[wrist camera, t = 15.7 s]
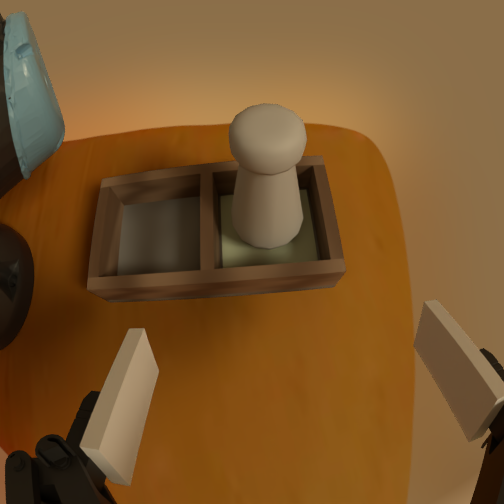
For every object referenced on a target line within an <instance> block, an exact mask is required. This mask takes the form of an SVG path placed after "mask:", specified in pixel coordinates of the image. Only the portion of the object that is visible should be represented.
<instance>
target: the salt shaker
mask: <svg viewBox="0 0 504 504" xmlns="http://www.w3.org/2000/svg"><path fill="white" fill-rule="evenodd" d="M306 141H307V139H306V131H305V127H304V123H303V120H302V119H301V118H300V117H299V116H298V115H297V114H295V113H294V112H293V111H292V110H289V109H287V108H285V107H282V106H280V105H278V104H260V105H255V106H251V107H248V108H247V109H245V110H243V111H242V112H240V113H239V114H237V115H236V116H235V118H234V120H233V121H232V123H231V125H230V127H229V143H230V149H231V153H232V155H233V156H234V158H235V159H236V160H237V162H238V163H239V166H238V172H237V178H236V184H235V190H234V196H233V202H232V208H231V215H232V225H233V227H234V228H235V230H236V232H237V233H238V235H239V236H240V238H241V239H242V240H243V241H245V242H246V243H248V244H250V245H251V246H253V247H255V248H262V249H269V250H271V249H274V248H277V247H280V246H284V245H286V244H288V243H289V242H290V241H291V240H292V239H293V238H294V237H295V236H296V235H297V234H298V232H299V230H300V227H301V224H302V221H303V213H302V207H301V200H300V193H299V186H298V179H297V173H296V166H295V165H296V164H297V163H298V162H299V161H300V160H301V157H302V155H303V152H304V149H305V145H306Z"/></svg>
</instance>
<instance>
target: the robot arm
mask: <svg viewBox="0 0 504 504" xmlns="http://www.w3.org/2000/svg"><path fill="white" fill-rule="evenodd" d="M64 133H65V125H64V121H63V117H62V114H61V111H60V108H59V105H58V102H57V99H56V96H55V93H54V90H53V87H52V84H51V81H50V79H49V76H48V73H47V70H46V67H45V64H44V61H43V58H42V56H41V53H40V50H39V47H38V44H37V41H36V38H35V35H34V33H33V30H32V28H31V26H30V23H29V20H28V17H27V15H26V14H25V13H24V12H18V13H15V14H13V13H12V14H10V15H9V16H7V18H6V20H4V19H3V18H2V16H1V14H0V199H1V198H2V197H3V196H4V195H5V194H6V193H7V192H8V191H10V190H11V189H12V188H13V187H14V186H15V185H16V184H18V183H19V182H20V181H21V180H22V179H23V178H24V179H26V180H27V179H28V178H29V177H30V176H31V172H32V171H34V170H35V169H36V168H37V167H38V166H39V165H40V164H42V163H43V162H44V161H45V160H46V159H48V158H49V157H50V156H51V155H53V154H54V153H55V152H56V151H57V150H58V148H59V147H60V146H61V144H62V142H63V139H64ZM33 285H34V265H33V259H32V254H31V251H30V248H29V246H28V244H27V242H26V240H25V239H24V238H23V237H22V236H21V235H20V234H19V233H17V232H16V231H14V230H13V229H12V228H10V227H9V226H7V225H4V224H1V223H0V350H1V349H3V348H5V347H6V346H7V345H8V344H10V343H11V342H12V340H13V339H14V338H15V337H16V335H17V334H18V332H19V331H20V329H21V327H22V325H23V323H24V321H25V318H26V316H27V313H28V310H29V306H30V302H31V298H32V292H33ZM413 346H414V347H415V349H416V351H417V352H418V354H419V355H420V357H421V358H422V360H423V362H424V364H425V365H426V367H427V368H428V370H429V372H430V373H431V375H432V377H433V378H434V380H435V382H436V383H437V385H438V387H439V389H440V390H441V392H442V394H443V396H444V397H445V399H446V401H447V402H448V404H449V406H450V408H451V410H452V412H453V413H454V415H455V417H456V418H457V421H458V423H459V424H460V426H461V428H462V430H463V432H464V434H465V436H466V438H467V439H468V442H471V441H473V440H475V439H478V438H480V437H482V436H483V435H484V433H485V432H486V430H487V429H488V428H489V429H490V431H491V434H490V435H489V436H488V438H487V439H486V440H485V442H484V443H483V444H482V447H481V448H484V446H485V445H486V444H487V447H486V451H485V455H484V459H483V463H482V467H481V471H480V474H479V478H478V481H477V484H476V487H475V491H474V494H473V497H472V500H471V503H470V504H504V370H503V367H502V366H501V364H499V363H498V361H497V359H496V358H495V357H494V356H493V354H491V353H490V352H488V351H487V350H485V349H484V348H483V349H480V350H479V349H478V348H477V347H476V345H475V344H474V343H473V342H472V340H471V339H470V338H469V337H468V336H467V334H466V333H465V332H464V331H463V329H462V328H461V327H460V326H459V325H458V323H457V322H456V321H455V320H454V319H453V318H452V316H451V315H450V314H449V313H448V312H447V311H446V310H445V308H444V307H443V306H442V305H441V304H440V303H439V301H438V300H431V301H425V302H424V305H423V310H422V314H421V318H420V322H419V326H418V330H417V334H416V338H415V341H414V345H413ZM158 373H159V370H158V367H157V364H156V361H155V359H154V356H153V353H152V350H151V347H150V344H149V341H148V338H147V335H146V332H145V329H144V328H132V329H129V330H128V332H127V334H126V336H125V339H124V341H123V343H122V345H121V347H120V349H119V352H118V354H117V356H116V358H115V361H114V363H113V365H112V367H111V370H110V372H109V374H108V376H107V379H106V381H105V383H104V386H103V388H102V390H101V392H98V391H91V392H90V393H89V394H88V395H87V396H86V397H85V398H84V399H83V401H82V403H81V406H80V408H79V411H78V412H77V415H76V419H74V422H73V424H72V426H71V429H70V431H69V433H68V436H67V438H66V441H65V440H64V439H63V438H62V437H60V436H59V435H54V434H51V435H47V436H45V437H43V438H41V439H40V441H39V442H38V443H37V445H36V448H35V453H36V456H37V457H38V458H31V457H30V456H29V455H28V454H27V453H26V452H24V451H20V450H17V451H15V452H12V453H11V454H10V455H9V456H8V458H7V459H6V464H5V485H6V504H117V503H116V501H115V500H114V498H113V496H112V495H111V493H110V491H109V490H108V488H107V486H106V485H105V484H104V483H105V479H106V477H107V478H108V479H109V480H110V481H111V482H112V483H116V484H122V485H128V486H130V484H131V479H132V475H133V470H134V466H135V462H136V458H137V453H138V449H139V445H140V441H141V437H142V433H143V429H144V425H145V421H146V417H147V414H148V410H149V406H150V402H151V398H152V395H153V391H154V387H155V384H156V380H157V377H158Z"/></svg>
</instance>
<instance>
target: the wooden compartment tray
mask: <svg viewBox="0 0 504 504" xmlns="http://www.w3.org/2000/svg"><path fill="white" fill-rule="evenodd" d="M238 166H239V163H238V162H237V161H228V162H218V163H208V164H199V165H191V166H183V167H175V168H167V169H160V170H153V171H147V172H140V173H134V174H128V175H122V176H116V177H110V178H105V179H102V182H101V187H100V192H99V198H98V203H97V209H96V215H95V222H94V228H93V235H92V243H91V251H90V260H89V270H88V280H87V290H88V291H90V292H92V293H94V294H95V295H97V296H99V297H101V298H103V299H105V300H107V301H109V302H133V301H156V300H176V299H194V298H210V297H225V296H239V295H252V294H264V293H276V292H288V291H299V290H309V289H320V288H329V287H334V286H335V285H336V284H337V282H338V281H339V280H340V279H341V277H342V276H343V275H344V273H345V272H346V268H345V262H344V257H343V251H342V245H341V240H340V235H339V230H338V225H337V220H336V215H335V210H334V205H333V200H332V196H331V191H330V187H329V182H328V178H327V174H326V169H325V165H324V161H323V157H322V156H302V157H301V160H300V161H299V162H298V163H297V164H296V165H295V166H296V173H297V179H298V186H299V193H300V200H301V207H302V213H303V221H302V224H301V227H300V230H299V232H298V234H297V235H296V236H295V237H294V238H293V239H292V240H291V241H290V242H289V243H288V244H286V245H284V246H280V247H277V248H274V249H271V250H269V249H262V248H255V247H253V246H251V245H250V244H248V243H246V242H245V241H243V240H242V239H241V238H240V236H239V235H238V233H237V232H236V230H235V228H234V227H233V225H232V215H231V208H232V202H233V196H234V190H235V184H236V178H237V172H238Z"/></svg>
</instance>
